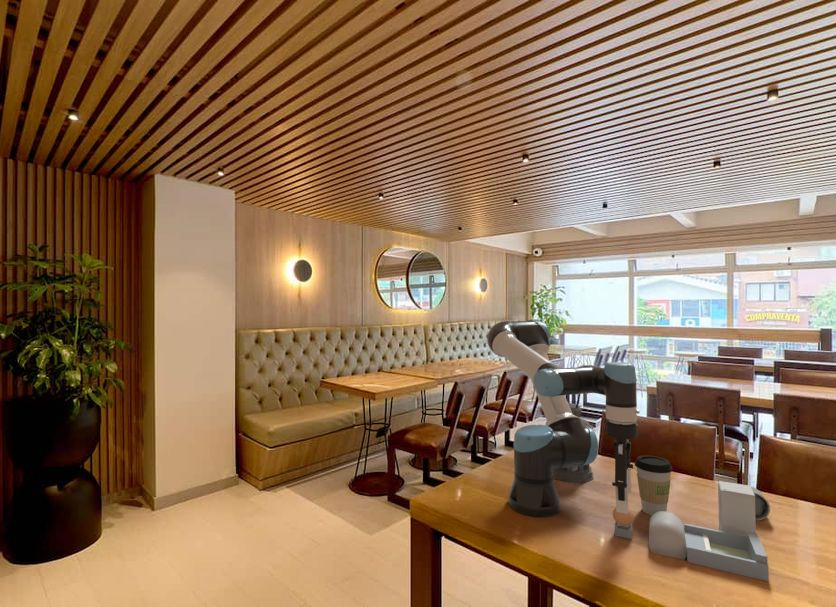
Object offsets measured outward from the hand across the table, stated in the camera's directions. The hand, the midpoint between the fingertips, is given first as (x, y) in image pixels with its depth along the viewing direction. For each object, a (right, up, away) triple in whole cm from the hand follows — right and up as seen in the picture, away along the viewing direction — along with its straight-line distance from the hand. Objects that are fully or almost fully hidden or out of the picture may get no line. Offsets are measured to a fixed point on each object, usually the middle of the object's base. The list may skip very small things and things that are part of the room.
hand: (624, 501), depth 111 cm
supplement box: (+29, -9, -1) cm, 31 cm away
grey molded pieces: (+12, -10, -6) cm, 17 cm away
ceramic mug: (+41, -9, +11) cm, 43 cm away
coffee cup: (+15, -9, +13) cm, 22 cm away
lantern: (+1, -10, +42) cm, 43 cm away
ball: (0, -4, 0) cm, 4 cm away
